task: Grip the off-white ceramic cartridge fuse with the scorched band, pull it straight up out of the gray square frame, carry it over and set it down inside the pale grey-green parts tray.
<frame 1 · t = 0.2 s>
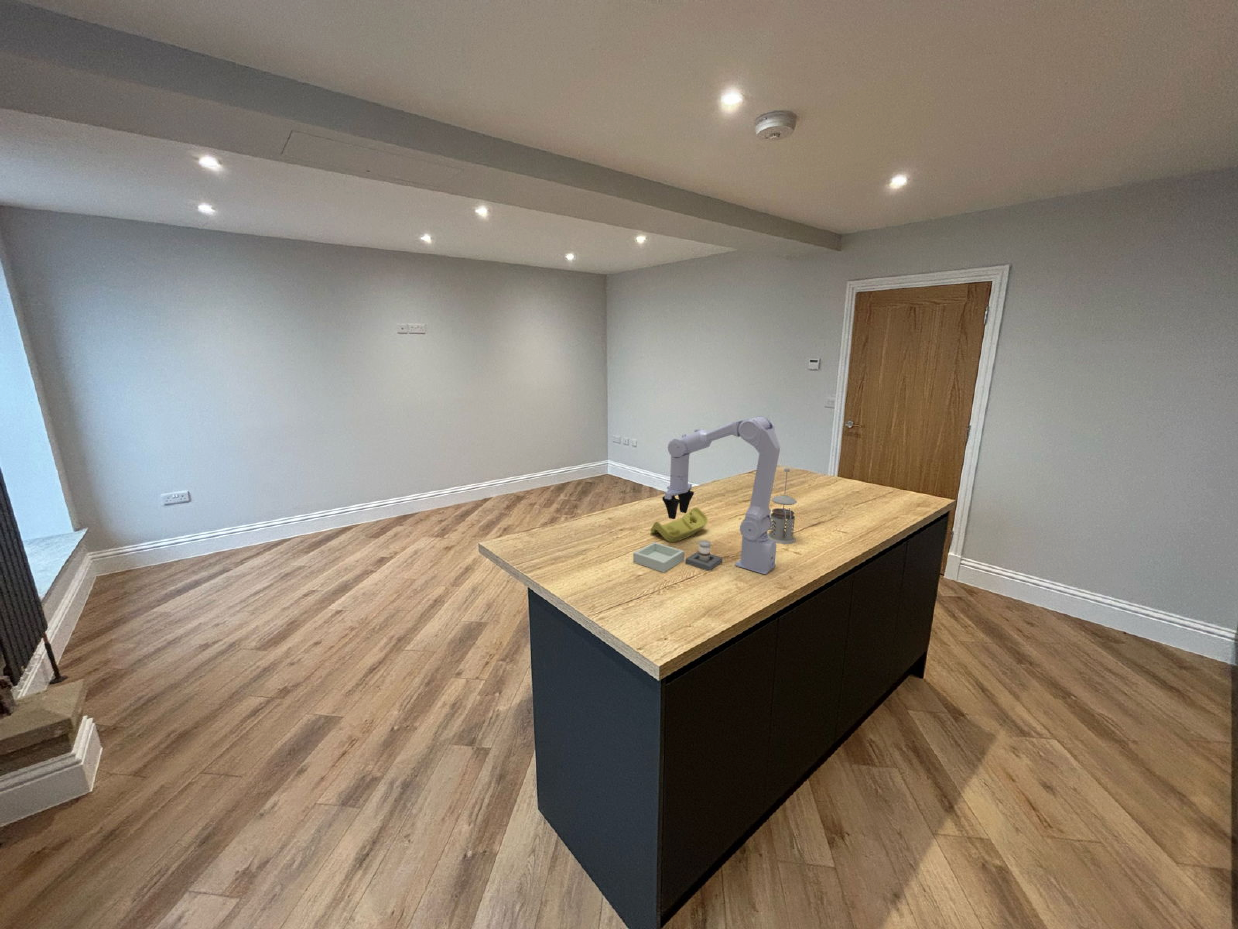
hand: (677, 515, 150), 10 cm above the table, fingers open, 7 cm apart
blown fuse: (704, 552, 138), in the gray square frame
french press: (781, 540, 157), on the table
parts tray: (658, 561, 139), on the table
gray square frame: (703, 562, 138), on the table
plastic component: (680, 534, 162), on the table
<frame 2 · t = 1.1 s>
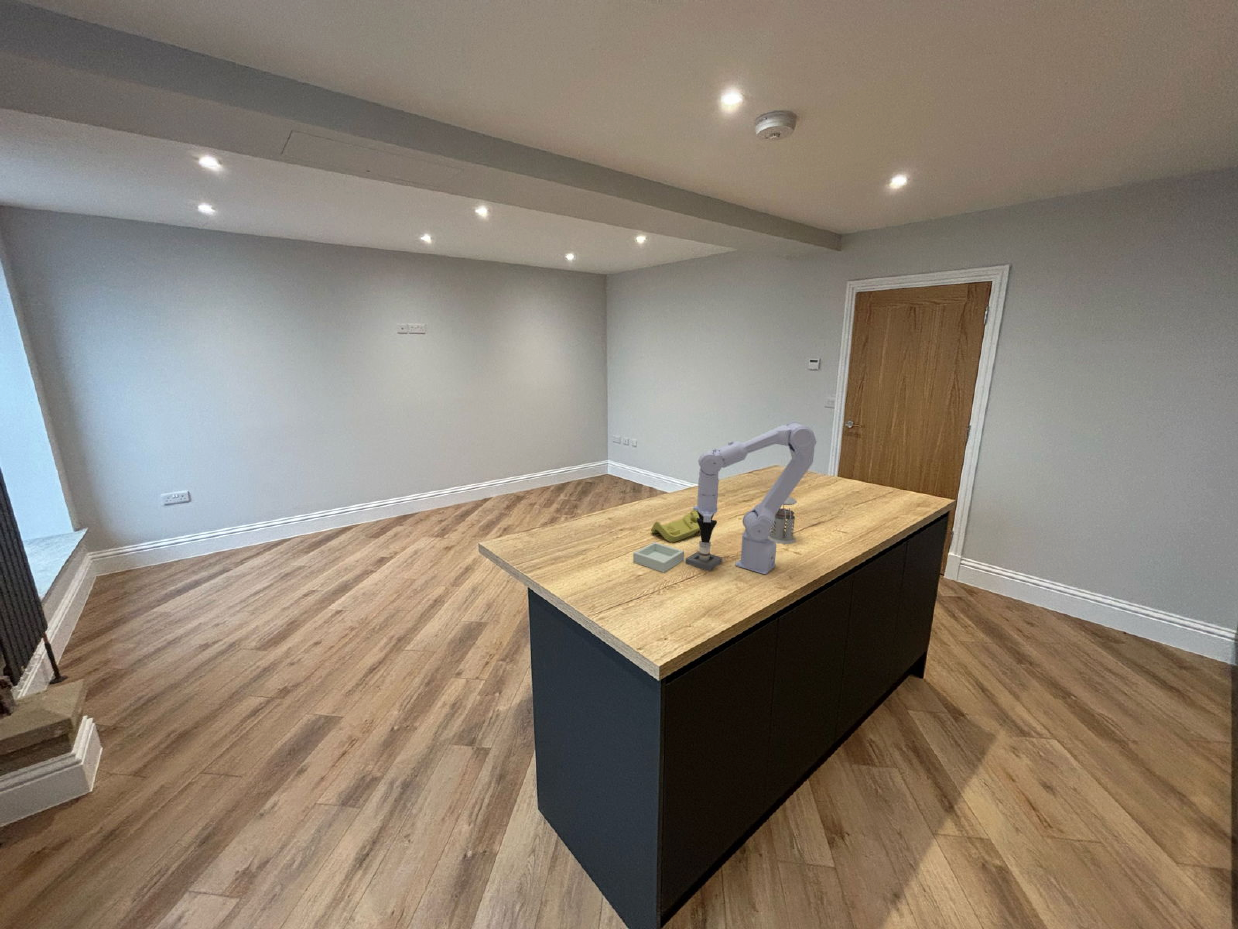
hand: (705, 537, 137), 8 cm above the table, fingers open, 7 cm apart
nothing on the table moved.
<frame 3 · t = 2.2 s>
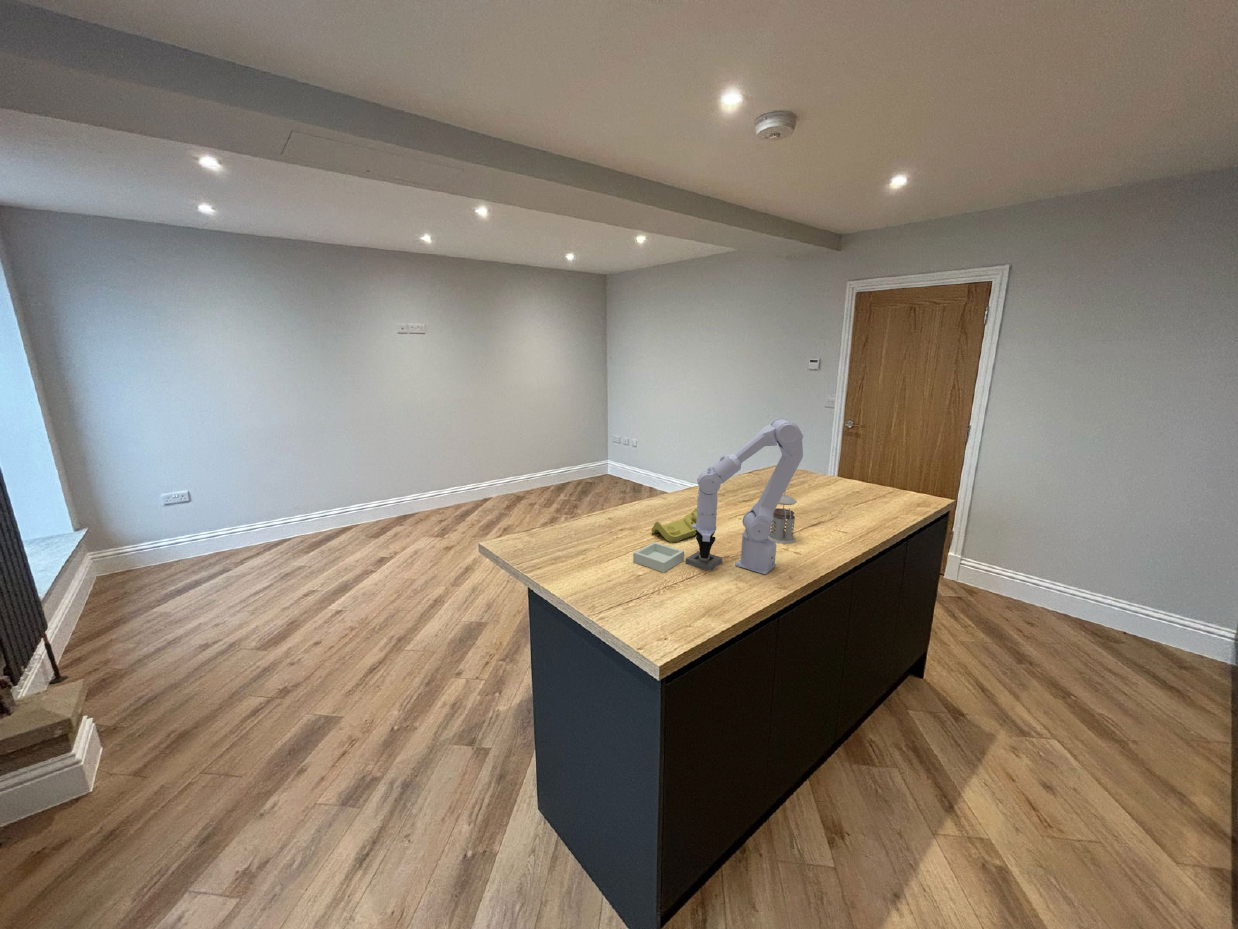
hand: (704, 555, 138), 2 cm above the table, fingers closed on blown fuse, 3 cm apart
blown fuse: (704, 552, 138), in the gray square frame, touching gripper
everything else where it was.
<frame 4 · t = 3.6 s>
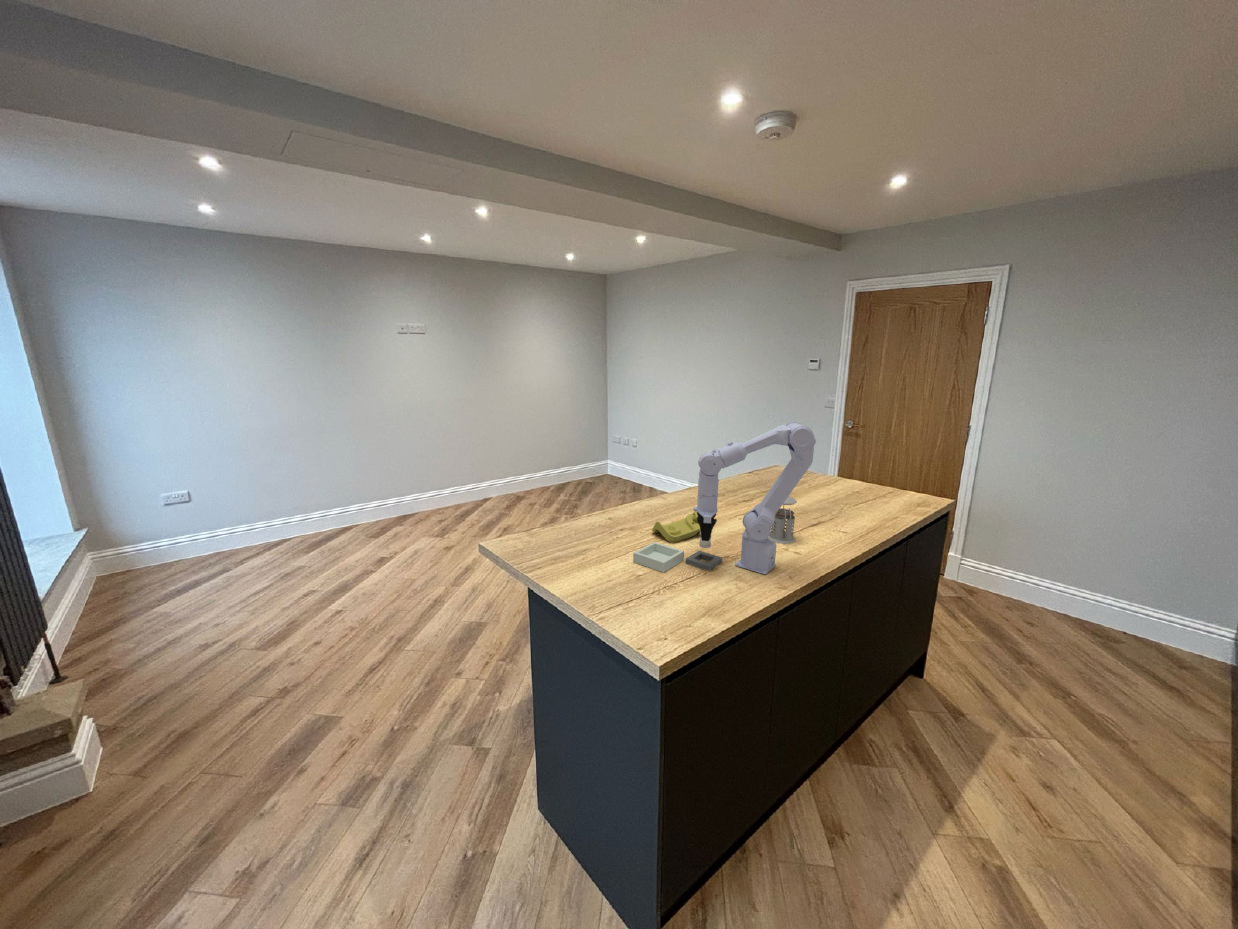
hand: (705, 538, 137), 8 cm above the table, fingers closed on blown fuse, 3 cm apart
blown fuse: (705, 535, 136), point 9 cm above the table, touching gripper
everything else where it was.
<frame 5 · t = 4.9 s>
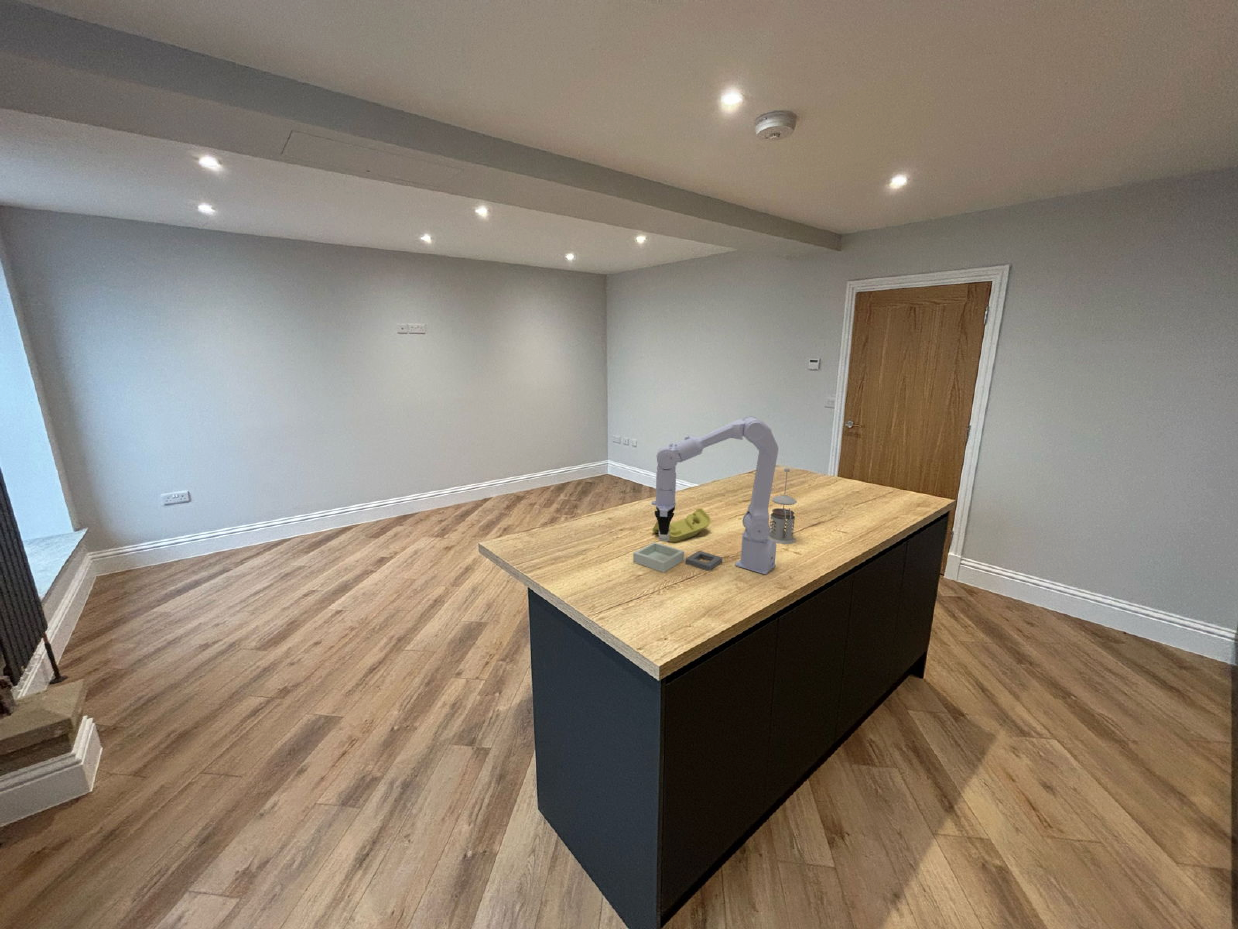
hand: (664, 532, 137), 9 cm above the table, fingers closed on blown fuse, 3 cm apart
blown fuse: (664, 529, 137), point 10 cm above the table, touching gripper
everything else where it was.
when the fingers open (4 cm above the table, at t = 6.1 s): blown fuse drops 1 cm, resting on parts tray.
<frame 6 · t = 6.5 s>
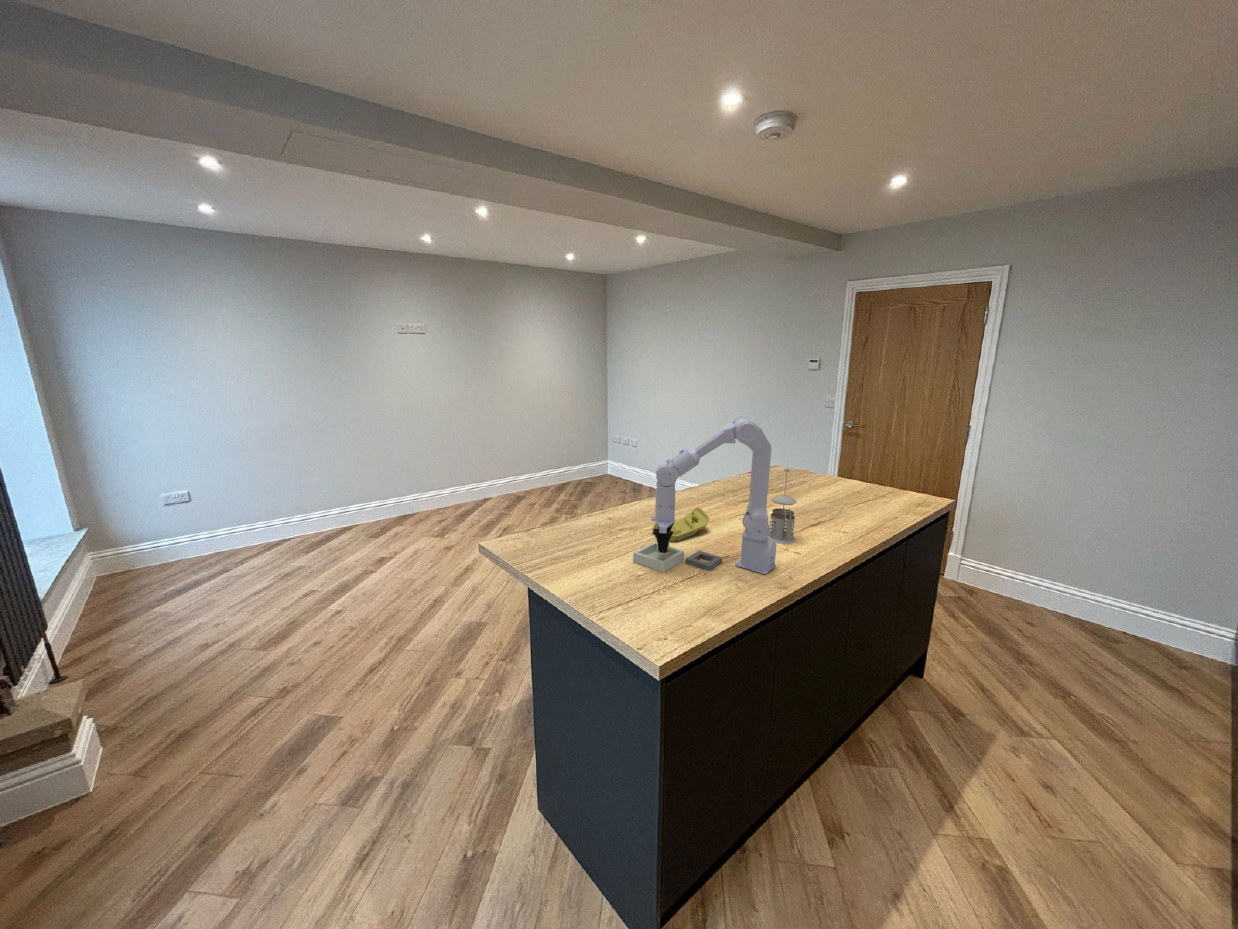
hand: (663, 547, 138), 4 cm above the table, fingers open, 7 cm apart
blown fuse: (663, 549, 138), in the parts tray
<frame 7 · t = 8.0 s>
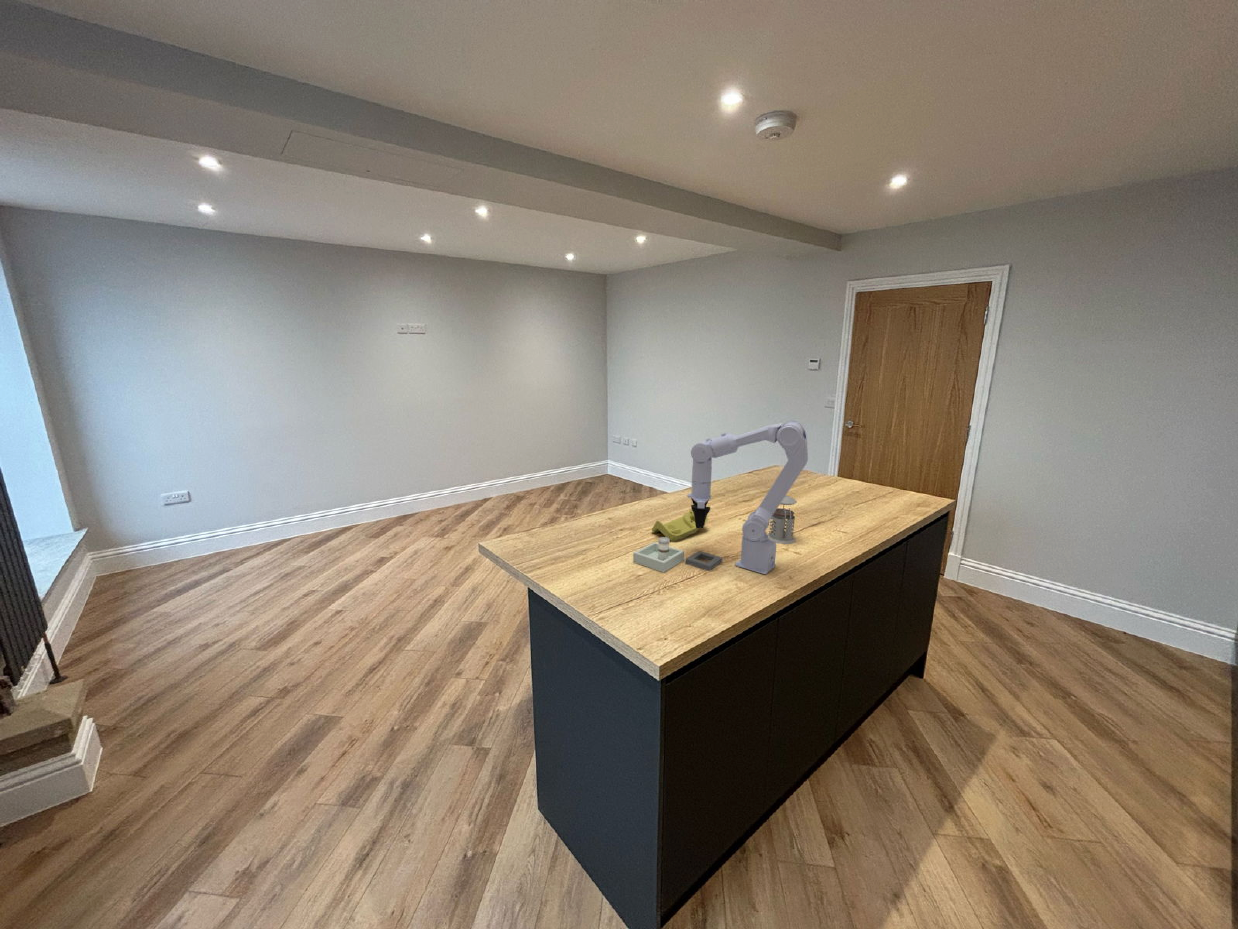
hand: (699, 523, 142), 10 cm above the table, fingers open, 7 cm apart
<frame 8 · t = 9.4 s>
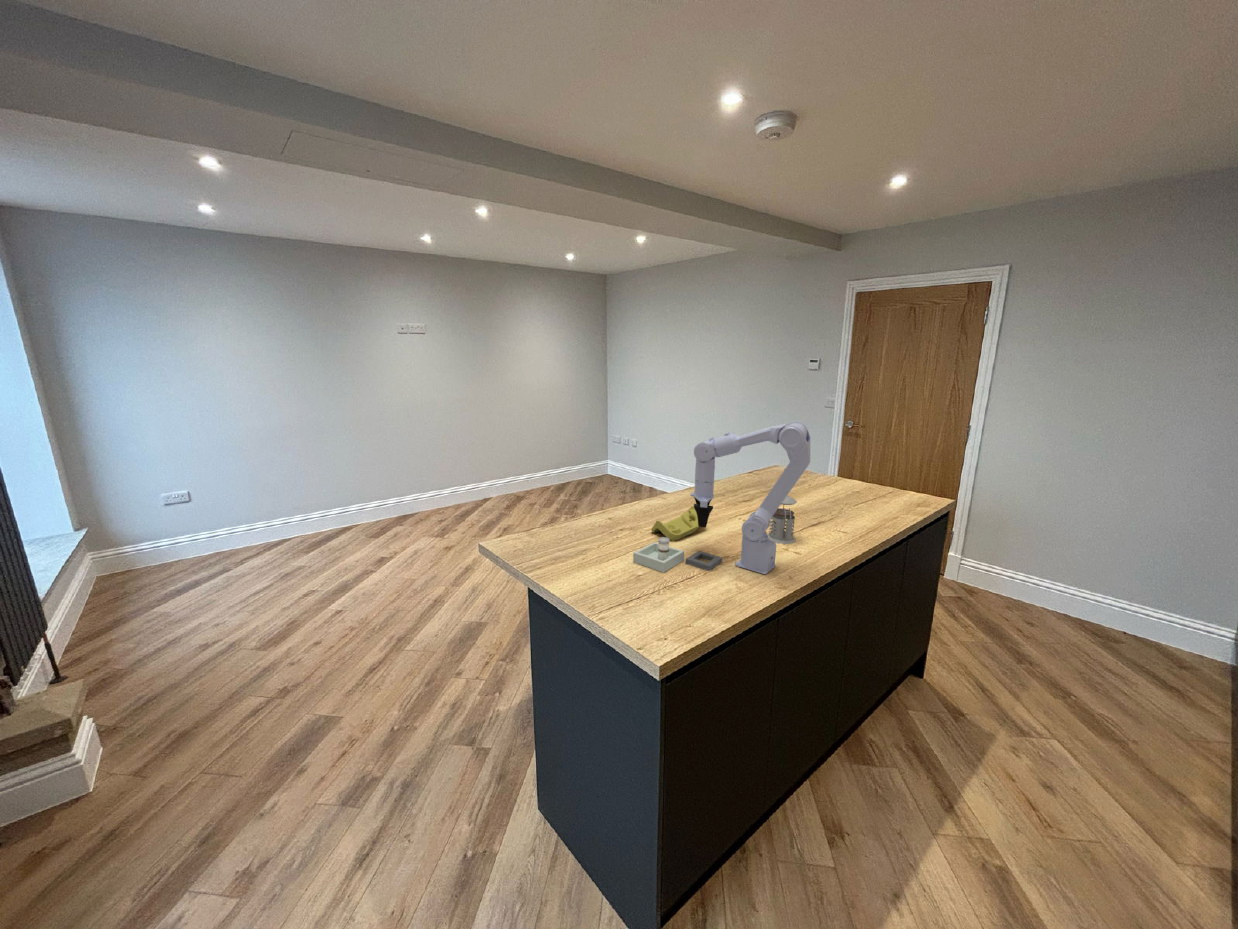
hand: (702, 522, 142), 10 cm above the table, fingers open, 7 cm apart
at the end: blown fuse inside the target area on the parts tray (1.4 cm from its centre), point 3.8 cm above the parts tray's base; the gripper is holding nothing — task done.
